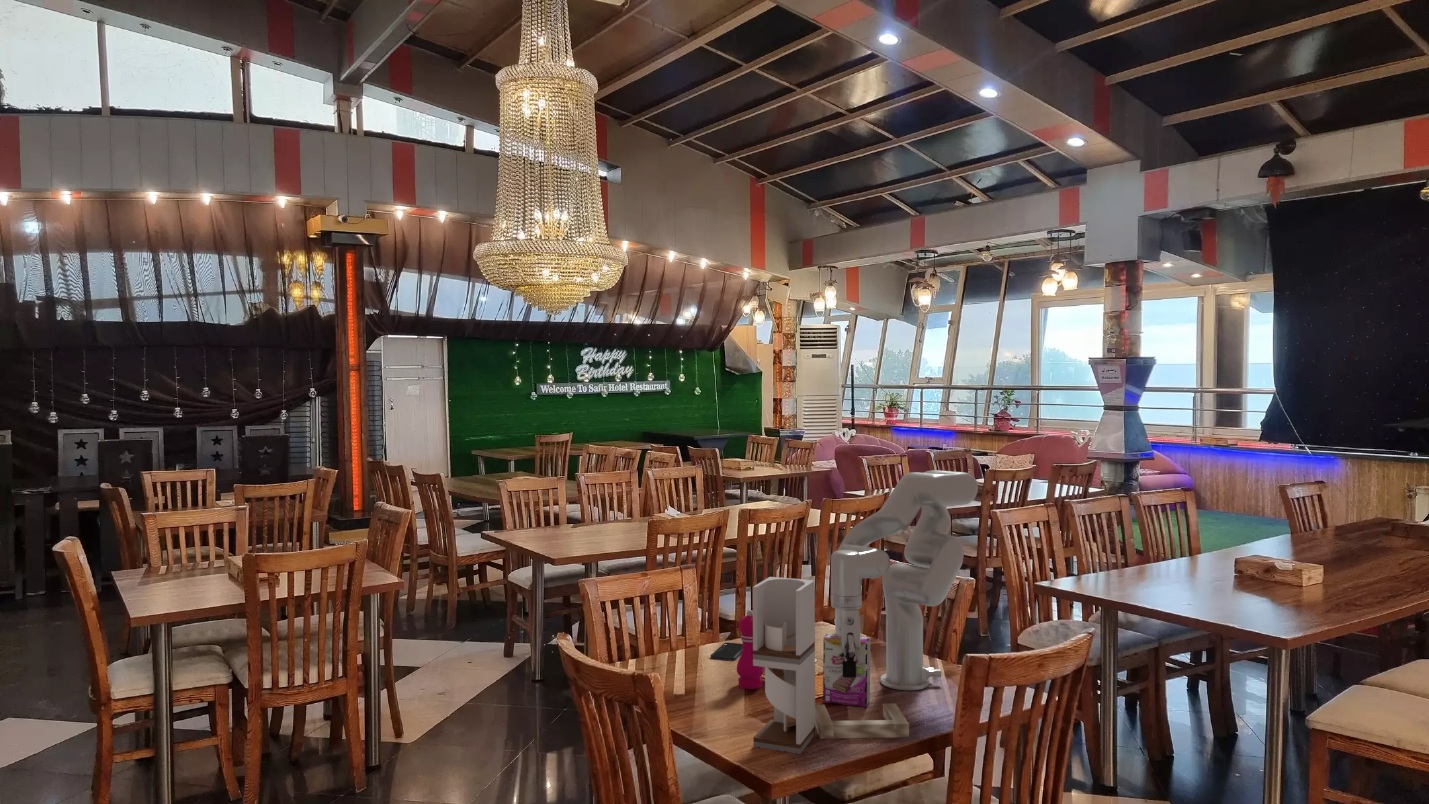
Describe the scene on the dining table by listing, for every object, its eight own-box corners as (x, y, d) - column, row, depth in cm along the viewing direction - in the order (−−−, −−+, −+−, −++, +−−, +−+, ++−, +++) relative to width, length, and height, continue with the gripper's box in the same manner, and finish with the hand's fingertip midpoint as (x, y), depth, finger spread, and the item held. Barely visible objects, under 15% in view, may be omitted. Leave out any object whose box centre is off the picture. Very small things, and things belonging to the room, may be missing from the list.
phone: (749, 644, 270) (735, 658, 256) (749, 648, 270) (735, 662, 256) (724, 642, 272) (709, 655, 258) (724, 645, 272) (709, 659, 258)
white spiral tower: (770, 728, 204) (769, 576, 204) (815, 734, 200) (814, 580, 200) (753, 746, 194) (752, 586, 193) (800, 753, 190) (799, 590, 189)
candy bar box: (822, 703, 220) (822, 637, 220) (826, 696, 225) (826, 632, 225) (867, 708, 217) (867, 641, 217) (870, 701, 222) (870, 635, 221)
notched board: (895, 715, 212) (895, 703, 212) (909, 736, 199) (909, 723, 199) (811, 717, 211) (811, 704, 211) (820, 738, 198) (820, 724, 198)
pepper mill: (764, 681, 237) (764, 606, 237) (763, 690, 230) (763, 613, 230) (737, 680, 238) (737, 606, 238) (735, 689, 231) (735, 612, 231)
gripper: (868, 608, 212) (868, 683, 212) (854, 592, 229) (855, 661, 230) (837, 609, 212) (837, 684, 212) (825, 592, 229) (826, 661, 229)
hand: (846, 671), depth 221 cm, fingers closed on candy bar box, 6 cm apart
